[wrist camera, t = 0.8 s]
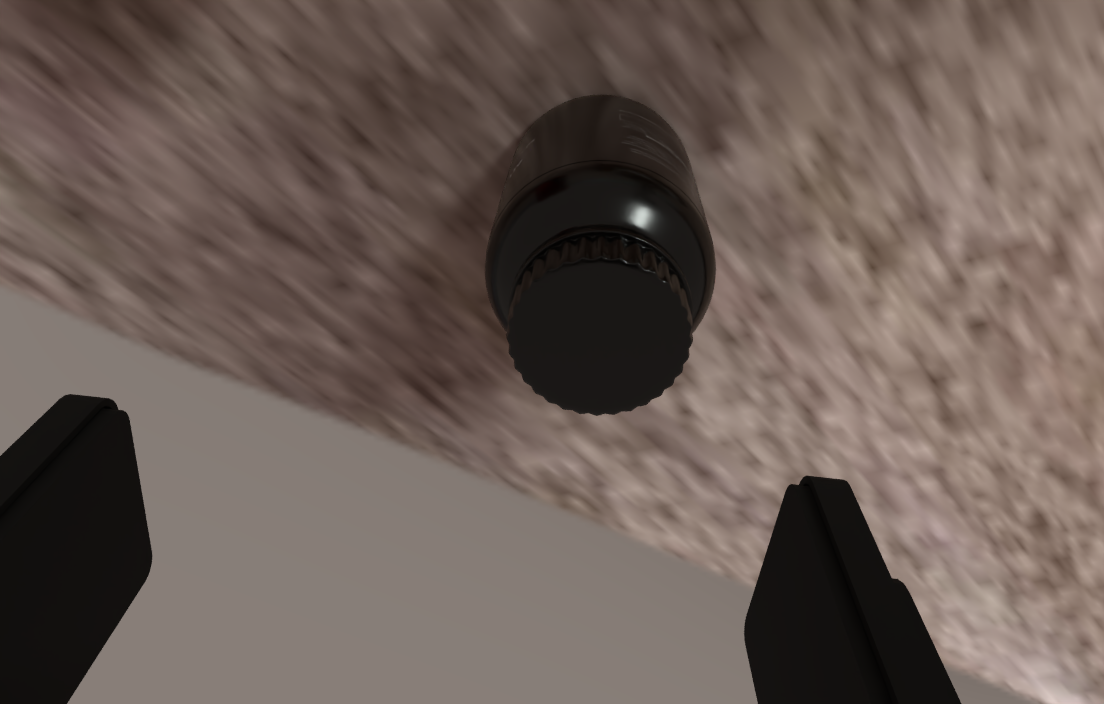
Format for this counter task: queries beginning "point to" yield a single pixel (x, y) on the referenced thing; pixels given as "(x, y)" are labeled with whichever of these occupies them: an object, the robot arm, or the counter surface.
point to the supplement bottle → (600, 256)
